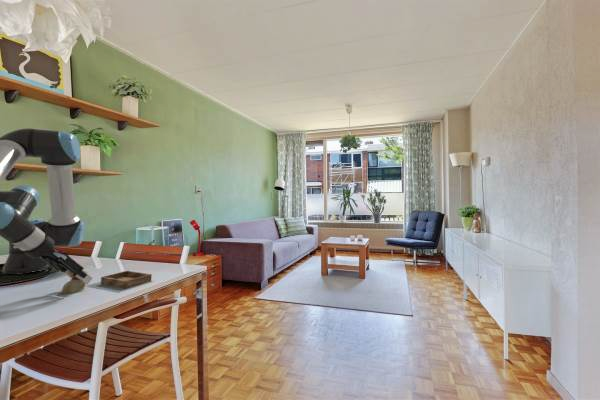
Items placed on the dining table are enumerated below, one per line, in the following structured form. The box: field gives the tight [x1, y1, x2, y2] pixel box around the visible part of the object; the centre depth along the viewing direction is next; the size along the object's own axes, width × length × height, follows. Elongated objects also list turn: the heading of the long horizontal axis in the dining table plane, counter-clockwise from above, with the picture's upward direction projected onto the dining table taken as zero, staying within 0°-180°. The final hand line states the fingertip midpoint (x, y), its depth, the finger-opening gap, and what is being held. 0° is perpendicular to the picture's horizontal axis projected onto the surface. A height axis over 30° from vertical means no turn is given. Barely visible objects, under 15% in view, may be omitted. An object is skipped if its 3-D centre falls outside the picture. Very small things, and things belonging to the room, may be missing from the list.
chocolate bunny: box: [60, 270, 88, 295], centre depth 106 cm, size 6×8×10 cm
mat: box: [85, 280, 154, 294], centre depth 116 cm, size 18×16×1 cm
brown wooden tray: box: [100, 270, 152, 289], centre depth 117 cm, size 14×12×3 cm
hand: (84, 280), depth 109 cm, fingers closed on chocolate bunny, 4 cm apart
